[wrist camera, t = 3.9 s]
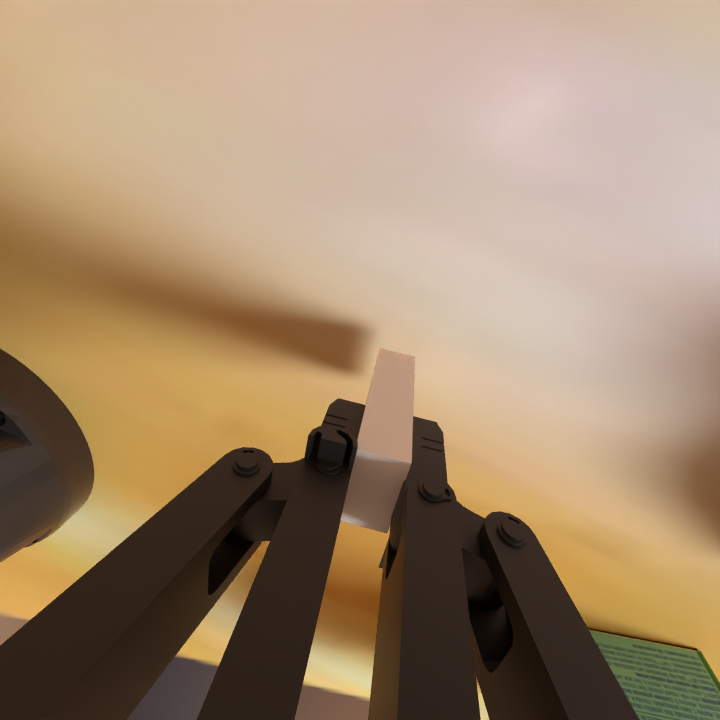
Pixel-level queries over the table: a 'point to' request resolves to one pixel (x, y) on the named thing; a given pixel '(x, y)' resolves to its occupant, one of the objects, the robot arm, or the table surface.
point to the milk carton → (662, 678)
